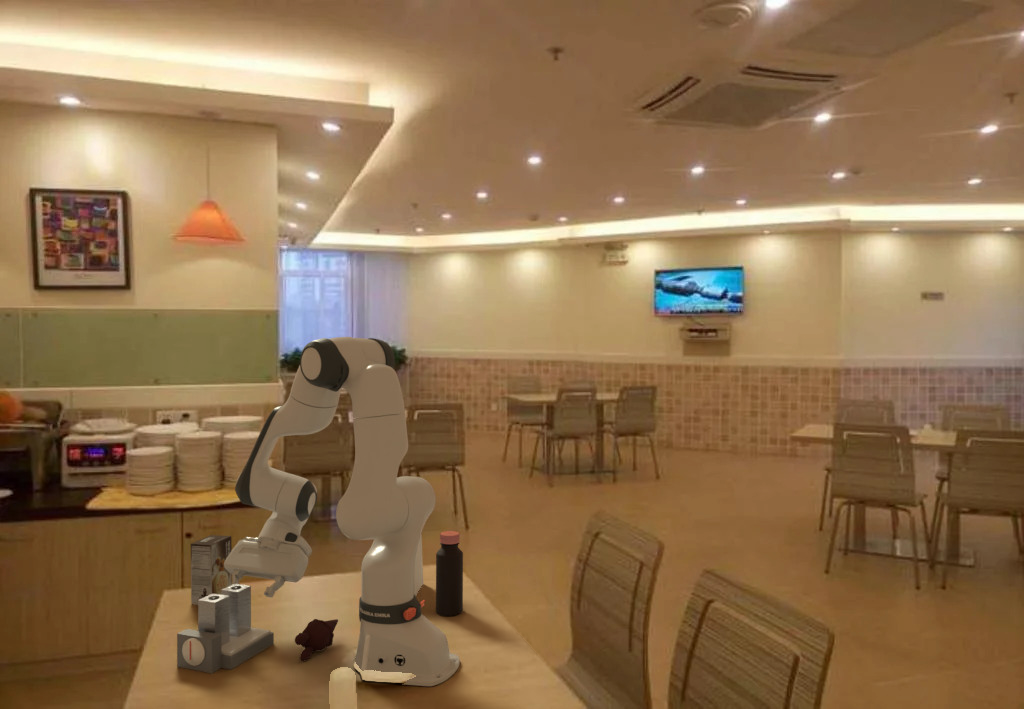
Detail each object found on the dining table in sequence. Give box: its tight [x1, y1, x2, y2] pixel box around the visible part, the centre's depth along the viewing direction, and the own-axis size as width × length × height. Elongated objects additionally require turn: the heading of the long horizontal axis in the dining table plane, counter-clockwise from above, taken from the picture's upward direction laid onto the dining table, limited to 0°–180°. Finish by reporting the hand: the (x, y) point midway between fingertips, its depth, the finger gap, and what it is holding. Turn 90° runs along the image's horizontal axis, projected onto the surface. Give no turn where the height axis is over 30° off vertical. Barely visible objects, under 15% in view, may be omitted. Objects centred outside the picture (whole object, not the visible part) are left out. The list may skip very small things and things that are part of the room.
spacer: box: [221, 583, 252, 637], centre depth 168 cm, size 4×4×10 cm
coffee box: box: [190, 534, 233, 606], centre depth 198 cm, size 9×6×16 cm
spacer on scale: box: [197, 594, 229, 646], centre depth 162 cm, size 4×4×10 cm
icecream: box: [294, 618, 339, 662], centre depth 167 cm, size 7×7×15 cm
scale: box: [176, 626, 275, 674], centre depth 164 cm, size 14×17×7 cm
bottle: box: [435, 530, 464, 617], centre depth 190 cm, size 7×7×20 cm
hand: (250, 593), depth 173 cm, fingers open, 8 cm apart
